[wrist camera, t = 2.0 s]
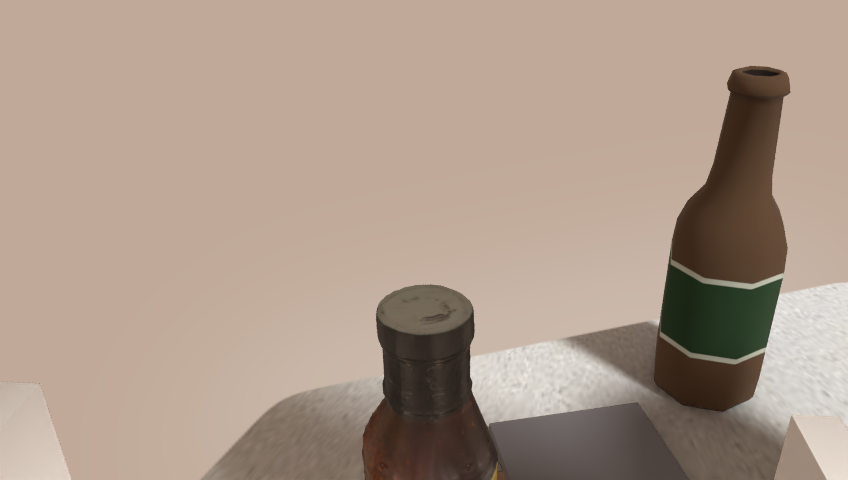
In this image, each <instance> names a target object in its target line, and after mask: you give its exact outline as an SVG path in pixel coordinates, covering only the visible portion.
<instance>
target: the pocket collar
mask: <svg viewBox="0 0 848 480" xmlns="http://www.w3.org/2000/svg"><path fill="white" fill-rule="evenodd" d="M497 480H506V478H505V476H504V473H503V471H499V472H497Z"/></svg>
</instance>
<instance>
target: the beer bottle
mask: <svg viewBox="0 0 848 480" xmlns="http://www.w3.org/2000/svg"><path fill="white" fill-rule="evenodd" d="M727 86H728V90H729V91H730V92H731V93H730V97H729V101H728V105H727V109H726V113H725V118H724V121H723V126H722V130H721V134H720V138H719V142H718V147H717V150H716V155H715V159H714V163H713V166H712V168H711V171H710V174H709V176H708V179H707V182H706V184H705V185H704V186H703V187H701V189H700V190H698V191H697V192H696V193H695V194H694V195H693V196H692V197H691V198H690V199H689V200H688V201H687V203H686V204H685V206H684V208H683V209H682V211H681V213H680V215H679V216H678V218H677V222H676V226H675V230H674V234H673V238H672V244H671V250H670V257H669V264H668V270H667V277H666V283H665V290H664V297H663V303H662V310H661V316H660V323H659V329H658V336H657V345H656V358H655V375H654V381H655V383H656V384H657V385H658V386H659V387H661V388H662V389H663V390H665V391H666V392H667V393H668V394H670V395H671V396H672V397H673V398H675V399H676V400H677V401H679V402H680V403H681V404H682V405H687V406H693V407H699V408H704V409H710V410H716V411H722V412H723V411H725V410H727V409H729V408H732V407H734V406H736V405H738V404H740V403H743V402H745V401H747V400H749V399H750V398H752V397H753V395H754V392H755V389H756V385H757V382H758V379H759V376H760V371H761V367H762V363H763V359H764V355H765V350H766V346H767V342H768V338H769V334H770V329H771V325H772V321H773V317H774V313H775V308H776V304H777V300H778V296H779V291H780V287H781V283H782V279H783V275H784V269H785V262H786V255H787V243H786V237H785V231H784V225H783V221H782V218H781V214H780V210H779V208H778V206H777V204H776V202H775V200H774V198H773V196H772V174H773V166H774V160H775V153H776V146H777V139H778V131H779V125H780V118H781V110H782V104H783V97H784V96H786V95H788V94H789V93H790V83H789V77H788V75H787V73H786V72H784V71H781V70H778V69H774V68H770V67H760V66H749V67H744V68H739V69H736V70H733V71H732V74H731V76H730V78H729V80H728V82H727Z"/></svg>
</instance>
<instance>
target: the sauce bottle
mask: <svg viewBox="0 0 848 480" xmlns="http://www.w3.org/2000/svg"><path fill="white" fill-rule="evenodd" d="M376 322H377V333H378V339H379V342H380V344H381V347H382V348H383V363H384V380H383V383H382V384H383V394H384V395H385V398H384V399H383V400H382V402H381V403H380V405H379V406H378V407H377V409H376V410H375V412H374V413H372V416H371V417H370V420H369V423H368V424H367V426H366V428H365V432H364V434H363V450H362V456H363V461H364V470H365V471H364V473H365V480H497V467H498V454H497V449H496V446H495V444H494V442H493V439H492V437H491V435H490V432H489V430H488V428H487V425H486V423H485V421H484V419H483V416H482V414H481V412H480V410H479V407H478V405H477V403H476V400H475V398H474V396H473V393H472V390H471V389H472V380H471V378H470V344H471V342H472V340H473V338H474V312H473V306H472V304H471V302H470V301H469V300H468V299H467V298H466V297H465V296H464V295H462V294H461V293H459V292H457V291H455V290H452V289H449V288H446V287H444V286H439V285H415V286H411V287H405V288H402V289H400V290H397V291H394V292H392V293H391V294H389V295H387V296H386V297H385V298H384V299H383V300H382V301H381V302H380V303H379V305H378V308H377V313H376Z"/></svg>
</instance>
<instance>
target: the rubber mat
mask: <svg viewBox="0 0 848 480" xmlns="http://www.w3.org/2000/svg"><path fill="white" fill-rule="evenodd" d="M489 432H490V435H491V437H492V439H493V442H494V444H495V446H496V449H497V454H498V460H499V462H500V465H501V468H502V470H503V473H504V476H505V478H506V480H689V479H688V477H687V476H686V474H685V473H684V471H683V470H682V468H681V467H680V465H679V464H678V462H677V461H676V459H675V458H674V456H673V455H672V453H671V452H670V450H669V449H668V447H667V446H666V444H665V443H664V441H663V440H662V438H661V437H660V435H659V434H658V432H657V431H656V429H655V428H654V426H653V425H652V423H651V422H650V420H649V419H648V417H647V416H646V414H645V413H644V411H643V410H642V408H641V407H640V405H639V404H638V402H637V403H630V404H623V405H616V406H609V407H602V408H595V409H588V410H581V411H574V412H567V413H560V414H553V415H546V416H539V417H532V418H525V419H518V420H511V421H504V422H497V423H490V424H489Z"/></svg>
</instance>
